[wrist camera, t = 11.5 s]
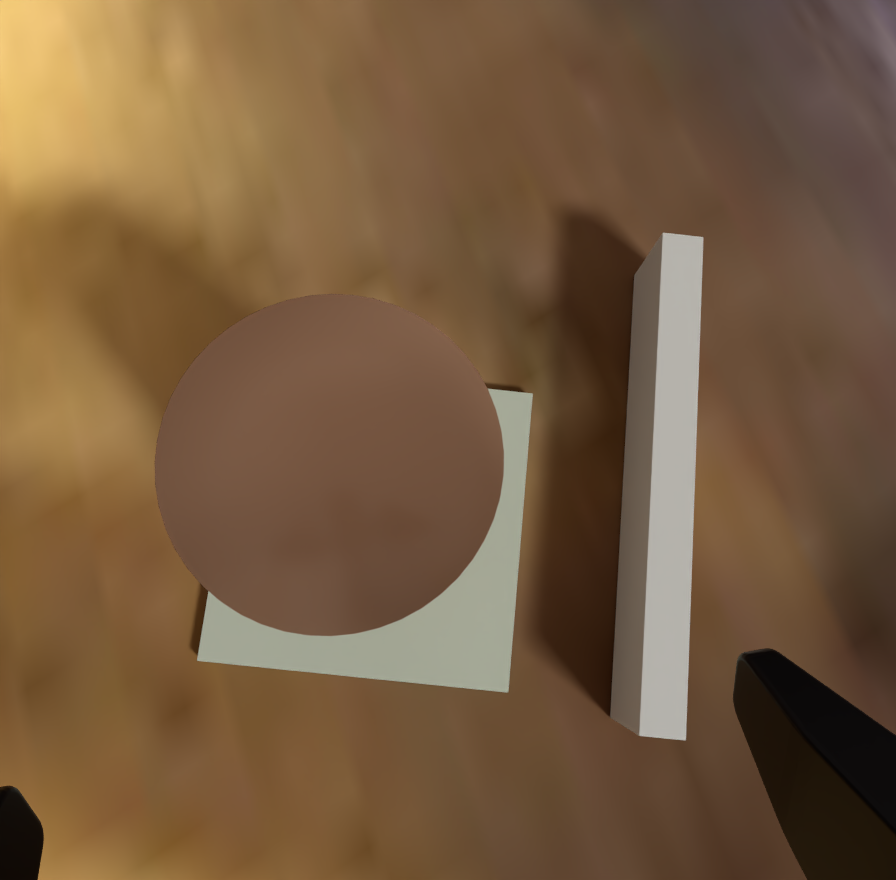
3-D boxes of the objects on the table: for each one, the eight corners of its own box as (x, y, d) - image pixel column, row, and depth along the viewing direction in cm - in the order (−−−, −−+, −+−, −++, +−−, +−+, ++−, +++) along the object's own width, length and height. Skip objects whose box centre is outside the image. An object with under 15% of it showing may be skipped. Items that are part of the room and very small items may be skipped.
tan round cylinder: (408, 651, 22) (399, 703, 11) (244, 561, 22) (85, 527, 12) (495, 487, 23) (561, 390, 12) (337, 403, 24) (270, 238, 13)
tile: (506, 690, 22) (508, 692, 22) (201, 659, 22) (196, 660, 22) (530, 396, 24) (532, 393, 24) (249, 366, 24) (246, 362, 24)
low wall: (650, 721, 22) (686, 740, 19) (610, 717, 22) (639, 735, 19) (669, 279, 25) (703, 237, 22) (634, 275, 25) (663, 232, 22)
